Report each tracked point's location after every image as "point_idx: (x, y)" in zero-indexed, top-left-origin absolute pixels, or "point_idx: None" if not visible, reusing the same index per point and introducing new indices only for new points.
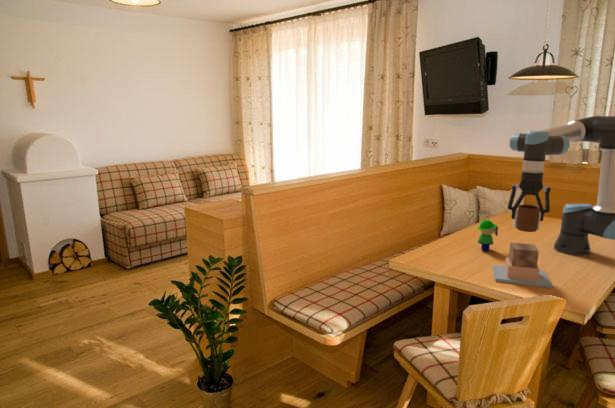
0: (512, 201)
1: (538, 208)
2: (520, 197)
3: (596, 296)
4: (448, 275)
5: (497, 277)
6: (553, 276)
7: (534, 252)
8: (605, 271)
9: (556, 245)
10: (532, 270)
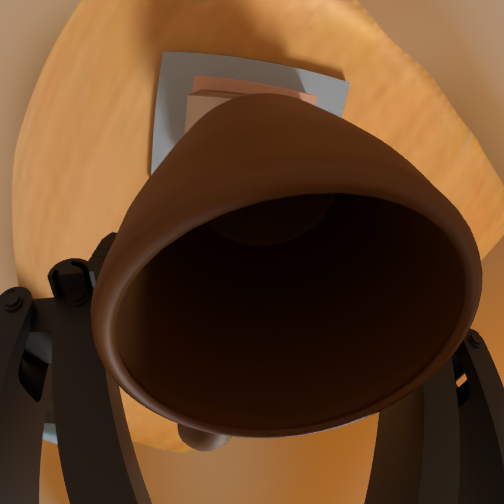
0: (495, 412)
1: (113, 266)
2: (453, 501)
3: (59, 40)
4: (458, 129)
5: (341, 91)
6: (130, 163)
7: (211, 95)
8: (18, 239)
9: None
10: (221, 78)
